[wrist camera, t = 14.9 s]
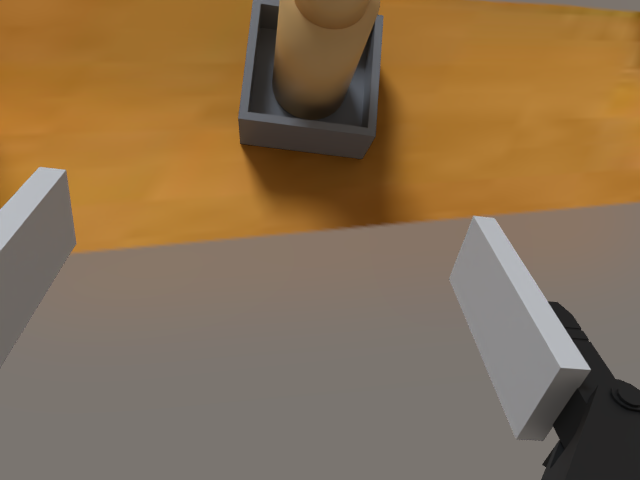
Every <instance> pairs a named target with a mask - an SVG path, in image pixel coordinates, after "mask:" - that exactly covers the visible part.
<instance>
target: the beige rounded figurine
mask: <svg viewBox="0 0 640 480" xmlns="http://www.w3.org/2000/svg"><path fill="white" fill-rule="evenodd" d="M379 7H380V0H280V2H279V13H278V24H277V34H276V45H275V56H274V67H273V77H272V88H273V92H274V95H275V98H276V100H277V101H278V103H279V104H280V105H281V107H282V108H283V109H284V110H286V111H287V112H288V113H290V114H291V115H293V116H295V117H298V118H301V119H306V120H318V119H322V118H325V117H327V116H330V115H331V114H333V113H334V112H335V111H336V110H337V109H338V108H339V107H340V106H341V104H342V103H343V100H344V98H345V95H346V93H347V90H348V88H349V85H350V83H351V80H352V78H353V75H354V73H355V70H356V68H357V65H358V63H359V60H360V58H361V55H362V52H363V50H364V47H365V45H366V42H367V40H368V37H369V35H370V32H371V30H372V27H373V25H374V22H375V20H376V17H377V15H378V11H379Z"/></svg>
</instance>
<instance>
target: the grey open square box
mask: <svg viewBox="0 0 640 480" xmlns="http://www.w3.org/2000/svg"><path fill="white" fill-rule="evenodd" d="M279 2H280V0H253V5H252V13H251V21H250V29H249V37H248V45H247V53H246V61H245V69H244V77H243V85H242V93H241V101H240V109H239V117H238V121H239V133H240V144H246V145H254V146H262V147H270V148H278V149H286V150H294V151H302V152H310V153H318V154H326V155H334V156H342V157H350V158H358V159H363V157H364V155H365V153H366V152H367V150H368V148H369V147H370V145H371V143H372V142H373V140H374V138H375V136H376V122H377V106H378V91H379V75H380V60H381V45H382V29H383V16H382V15H377V17H376V20H375V22H374V25H373V27H372V30H371V32H370V35H369V37H368V40H367V42H366V45H365V47H364V50H363V52H362V55H361V58H360V60H359V63H358V65H357V68H356V70H355V73H354V75H353V78H352V80H351V83H350V85H349V88H348V90H347V93H346V95H345V98H344V100H343V103H342V104H341V106H340V107H339V108H338V109H337V110H336V111H335V112H334V113H333V114H331V115H330V116H327V117H325V118H322V119H318V120H306V119H301V118H298V117H295V116H293V115H291V114H290V113H288V112H287V111H286V110H284V109H283V108H282V107H281V105H280V104H279V103H278V101H277V100H276V98H275V95H274V92H273V88H272V77H273V67H274V56H275V45H276V34H277V24H278V13H279Z"/></svg>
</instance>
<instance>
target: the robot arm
mask: <svg viewBox="0 0 640 480" xmlns="http://www.w3.org/2000/svg"><path fill="white" fill-rule="evenodd" d="M75 245H76V238H75V231H74V223H73V216H72V209H71V202H70V195H69V187H68V180H67V173H66V170H62V169H53V168H45V167H39V168H38V169H37V170H36V171H35V172H34V173H33V175H32V176H31V177H30V178H29V179H28V180H27V181H26V182H25V183H24V184H23V185H22V187H21V188H20V189H19V190H18V191H17V192H16V193H15V194H14V195H13V196H12V197H11V198H10V200H9V201H8V202H7V203H6V204H5V205H4V206H3V207H2V208H1V209H0V367H1V366H2V364H3V363H4V361H5V359H6V358H7V356H8V354H9V353H10V351H11V349H12V348H13V346H14V344H15V343H16V341H17V340H18V338H19V336H20V335H21V333H22V332H23V330H24V328H25V327H26V325H27V323H28V322H29V320H30V318H31V317H32V315H33V314H34V312H35V310H36V309H37V307H38V305H39V304H40V302H41V300H42V299H43V297H44V296H45V294H46V292H47V291H48V289H49V287H50V286H51V284H52V282H53V281H54V279H55V278H56V276H57V274H58V273H59V271H60V269H61V268H62V266H63V264H64V263H65V261H66V260H67V258H68V256H69V255H70V253H71V251H72V250H73V248H74V246H75ZM449 280H450V282H451V285H452V287H453V290H454V292H455V294H456V297H457V299H458V302H459V304H460V306H461V309H462V311H463V314H464V316H465V318H466V321H467V323H468V326H469V328H470V330H471V332H472V335H473V338H474V340H475V342H476V345H477V347H478V349H479V352H480V354H481V357H482V359H483V362H484V364H485V366H486V369H487V371H488V374H489V376H490V378H491V381H492V383H493V385H494V388H495V390H496V392H497V395H498V398H499V400H500V402H501V405H502V407H503V409H504V412H505V414H506V416H507V419H508V421H509V424H510V426H511V429H512V431H513V433H514V436H515V438H516V439H519V440H538V441H543V440H544V439H545V437H546V436H547V434H548V433H549V432H550V430H551V429H552V427H554V428H555V431H556V433H557V435H558V437H559V439H560V440H559V441H558V443H557V444H556V446H555V447H554V448H553V450H552V451H551V453H550V454H549V456H548V457H547V458H546V460H545V461H544V463H543V465H544V466H545V467H546V469H545V472H544V474H543V477H542V479H541V480H640V390H639V389H637V388H636V387H634V386H633V385H631V384H629V383H626V382H624V381H621V380H617V379H615V378H614V376H613V375H612V373H611V372H610V370H609V369H608V367H607V366H606V364H605V363H604V361H603V360H602V358H601V357H600V355H599V354H598V352H597V351H596V349H595V348H594V347H593V345H592V343H591V342H589V341H588V338H587V336H586V335H585V333H584V332H583V331H581V327H580V326H579V324H578V323H577V321H576V320H575V318H574V317H573V315H572V314H571V313H569V312H568V311H567V310H566V309H565V308H564V307H562V306H561V305H560V304H559V303H558V302H548V301H547V300H546V298H545V297H544V295H543V294H542V292H541V290H540V289H539V287H538V286H537V284H536V283H535V281H534V279H533V278H532V276H531V275H530V273H529V272H528V270H527V268H526V267H525V265H524V264H523V262H522V261H521V259H520V258H519V256H518V254H517V253H516V251H515V250H514V248H513V247H512V245H511V243H510V242H509V240H508V239H507V237H506V235H505V234H504V232H503V231H502V229H501V228H500V226H499V225H498V223H497V221H496V220H495V219H494V218H488V217H479V216H473V218H472V221H471V223H470V226H469V228H468V231H467V234H466V236H465V239H464V241H463V244H462V246H461V249H460V252H459V254H458V257H457V259H456V262H455V265H454V267H453V270H452V272H451V275H450V278H449Z"/></svg>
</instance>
